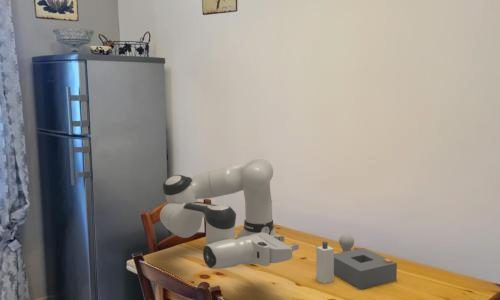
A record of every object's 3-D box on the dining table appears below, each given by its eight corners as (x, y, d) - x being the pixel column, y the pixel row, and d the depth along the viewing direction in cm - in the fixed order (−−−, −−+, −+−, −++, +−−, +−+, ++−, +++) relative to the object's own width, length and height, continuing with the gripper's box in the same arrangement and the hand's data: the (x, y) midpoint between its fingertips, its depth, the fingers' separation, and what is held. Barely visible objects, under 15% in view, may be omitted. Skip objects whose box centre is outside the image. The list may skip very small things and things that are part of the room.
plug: (316, 279, 167) (316, 241, 165) (326, 277, 168) (326, 239, 167) (323, 283, 163) (323, 245, 161) (333, 281, 165) (333, 243, 163)
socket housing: (329, 271, 174) (329, 253, 173) (363, 264, 180) (363, 246, 179) (360, 289, 157) (360, 269, 156) (396, 280, 164) (396, 261, 163)
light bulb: (354, 261, 183) (354, 236, 182) (338, 260, 184) (339, 236, 183) (353, 256, 189) (354, 232, 188) (339, 255, 190) (339, 231, 189)
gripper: (240, 248, 161) (275, 242, 167) (267, 268, 143) (306, 260, 148) (240, 231, 160) (275, 225, 166) (267, 248, 142) (306, 241, 148)
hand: (290, 242), depth 157 cm, fingers open, 8 cm apart
